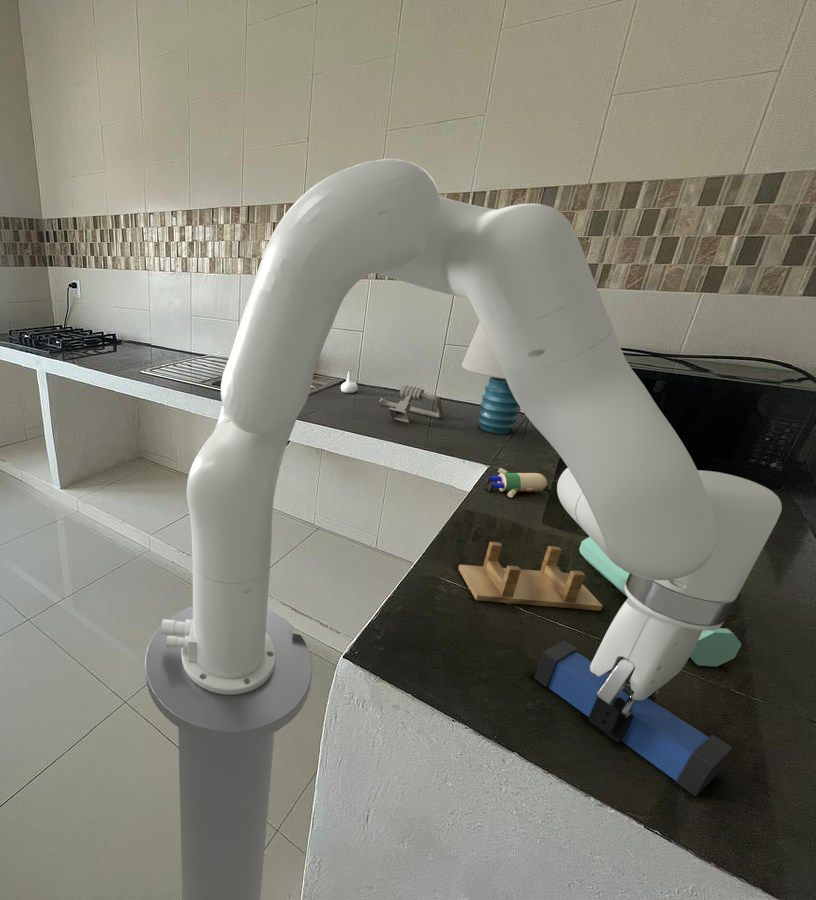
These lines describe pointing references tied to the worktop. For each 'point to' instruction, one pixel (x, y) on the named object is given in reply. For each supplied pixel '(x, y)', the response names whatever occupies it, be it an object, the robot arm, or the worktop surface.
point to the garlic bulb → (349, 385)
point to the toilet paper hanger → (404, 406)
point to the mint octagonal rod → (711, 643)
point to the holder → (528, 583)
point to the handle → (638, 721)
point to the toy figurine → (517, 482)
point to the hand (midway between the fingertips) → (616, 720)
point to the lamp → (491, 386)
